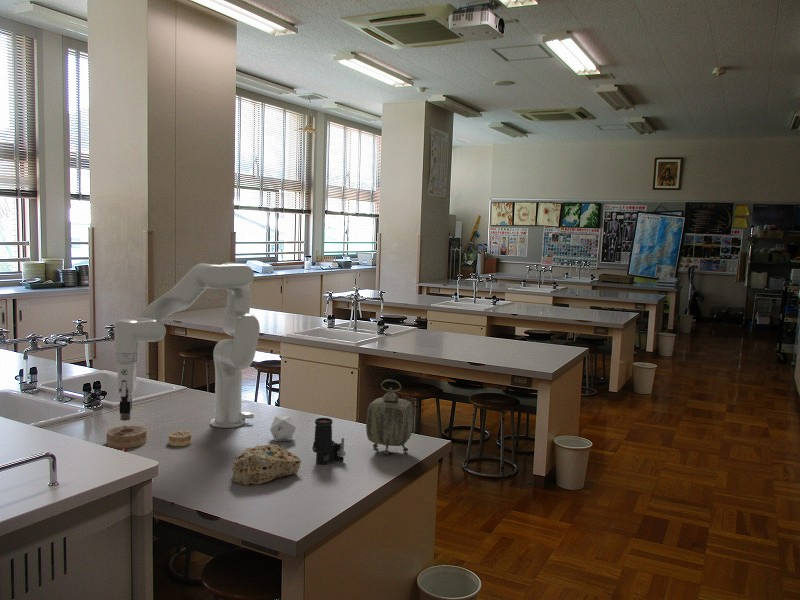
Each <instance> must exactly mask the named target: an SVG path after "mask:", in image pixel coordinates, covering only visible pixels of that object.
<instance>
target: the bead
mask: <svg viewBox="0 0 800 600" xmlns="http://www.w3.org/2000/svg"><path fill="white" fill-rule="evenodd" d="M147 433H148V431H147V428H146V427H145V426H142V425H136V424H133V425H132V424H130V425H129V424H128V425H120V426H114V427H112V428H110V429H108V430H107V432H106V446H108V447H110V448H113V449H123V446H126V449H132V448H136V447H140V446H142V444H143V445H144V444H146V443H147V441H148V440H147V439H148V438H147V435H148V434H147ZM115 447H116V448H115Z"/></svg>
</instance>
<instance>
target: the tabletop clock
mask: <svg viewBox="0 0 800 600" xmlns="http://www.w3.org/2000/svg"><path fill="white" fill-rule="evenodd" d="M386 382H391V383H395V384H398V386H399V389H393V387H389V388H388V389H387V388H385V387H384V386H383V384H384V383H386ZM380 386H381V389H382V390H384V391H386V393H385V394H384V395H383V396H382V397H378V398H376V399H374V400H373V401H372V402H371V403H369V405H368V408H367V411H366V419H365V420H366V421H365V423H366V424H365V425H366V426H365V429H366V431H365V432H366V436H367V440H368V441H370V442H371V443H373V445H372V447H373V449H378V447H379V445H382V446H385V450H384V451H383V454H384V455H385V454H386V455H385V456H388V455H389V454H390V452H389V450H388V449H389V446H391V447H402V448H403V449H402V451H403V452H404V451H405V452H404V453H407V452H408V450H409V449H408V448H407V447H405V444H406V443H407V442H408V441H409V440H410V439H411V436H412V435H413V429H414V428H413V427H414V419H415V418H414V408H413V404H412V402H411V401H409V400H407V399H402V398H399V397H398V395H397V392H400V390H401V389H402V385H401V383H400V382H399V381H397V380H396V379H389V378H387V379H384V380H383V381H382V382H381V384H380ZM406 451H407V452H406ZM387 454H388V455H387Z"/></svg>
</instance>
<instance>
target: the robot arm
mask: <svg viewBox="0 0 800 600" xmlns="http://www.w3.org/2000/svg"><path fill="white" fill-rule="evenodd" d="M254 279H255V273H254V271H253V269H252V268H251V267H250V266H249V265H248V264H244V263H237V262H224V263H221V264H212V263H211V264H210V263H205V262H204V263H203V262H202V263H198V264H196V265H193V267H191V269H190V270H189V271H188V272H187V273H186V274H184V276H183V277H181V279H180V280H179V281H178V282H177V283H175V284H174V286H173V287H172V288H171V289H170V290H169V291H167V292H166V293H164V294H162V295H161V296H159V297H158V298H157V299H155V300H154V301H152V302H151V303H149V304H148V305H147V306H146V307H145V308H144V309H143V310H142V311H141V312H140V313H139V314H138V315H137V316H136V317H135V318H134V319H117V321H115V323H114V343H113V344H114V351H113V357H114V358H113V362H114V363H115V364H117V375H116V376H117V383H116V384H117V386H116V387H117V392H118V394H120V397H119V398H120V399H119V415H120V414H129V413H130V401H129V400H130V392H131V394H133V393H134V392H135V391H136V388H137V363H139V361H140V342H149V343H155V342H159V341H161V340H162V339H163V338H164V337H165V336H166V333H167V329H166V326H165V324H164V323H163V321H164V319H166V318H167V317H170V315H173V314H175V313H178V312H181V311H184V310H186V309H189V308H190V307H191V306H192V305H193V304H194V303H195V301H197V299H198V298H199V297H200V296H201V295H202V294H204V293H205V291H206V290H207V289H210V290H226V292H227V301H226V305H225V312H224V316H223V321H222V330H223V331H224V333H226V335H228V336H230V337H233V339H231V338H226V339H222V340H221V339H220V341H218V342H217V343H216V344H215V346H214V348H213V354H212V356H213V364H214V370H215V371H214V373H215V375H214V376H215V377H214V379H215V380H214V381H215V384H214V386H215V387H214V391H215V392H214V417H213V418H212V419H210V425H211V426H212V427H214V428H220V429H230V428H231V429H232V428H233V429H234V428H237V427H241V426H243V425H245V423H246V419H250V420H251V419H255V417H254V416H255V415H254V412H253V413H252V412H250V411H249V412H245V411H243V409H242V396H243V395H242V387H243V386H242V385H243V375H242V370H245V369H248V368H249V367H250V366H251V365H252V363H253V362H254V359H255V356H256V351H257V347H258V342H259V338H260V336H259V335H260V332H261V330H260V322H259V320H258V318H257V316H254V315H253V314H252V313H250V310H251V304H252V292H251V288H250V285H251V284H252V283H253V281H254ZM126 390H128V392H126ZM126 394H128V396H127V395H126ZM132 404H133V398H132V397H131V410H133V408H132V406H133V405H132Z"/></svg>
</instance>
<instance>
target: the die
mask: <svg viewBox="0 0 800 600" xmlns="http://www.w3.org/2000/svg"><path fill="white" fill-rule="evenodd" d="M296 429H297V427H296V425H295V423H294V420H293V418H292V417H291V416H290V415H287V416H286V415H283V416H274V419H273V421H272V423H271V425H270V428H269V430H270V433H271V436H272V438H273V440H274V442H291V441H292V439H293V437H294V434H295V432H296Z"/></svg>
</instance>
